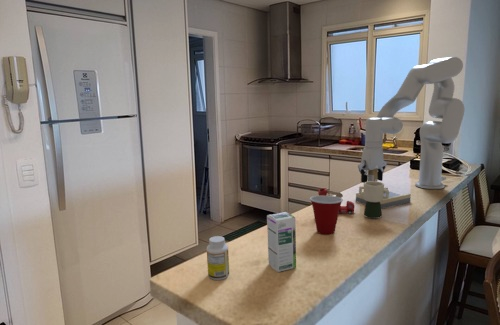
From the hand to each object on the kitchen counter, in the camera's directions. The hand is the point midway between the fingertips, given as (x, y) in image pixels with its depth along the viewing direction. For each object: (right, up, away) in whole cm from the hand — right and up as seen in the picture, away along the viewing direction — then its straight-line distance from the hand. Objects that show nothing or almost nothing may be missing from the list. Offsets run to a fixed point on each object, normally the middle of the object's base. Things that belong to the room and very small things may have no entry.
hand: (371, 181), depth 165 cm
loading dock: (0, -8, -14) cm, 16 cm away
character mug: (-11, -12, -33) cm, 36 cm away
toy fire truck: (-23, -11, -27) cm, 37 cm away
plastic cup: (-31, -15, -45) cm, 57 cm away
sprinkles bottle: (0, -5, +1) cm, 5 cm away
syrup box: (-48, -20, -68) cm, 86 cm away
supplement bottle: (-65, -21, -73) cm, 100 cm away
